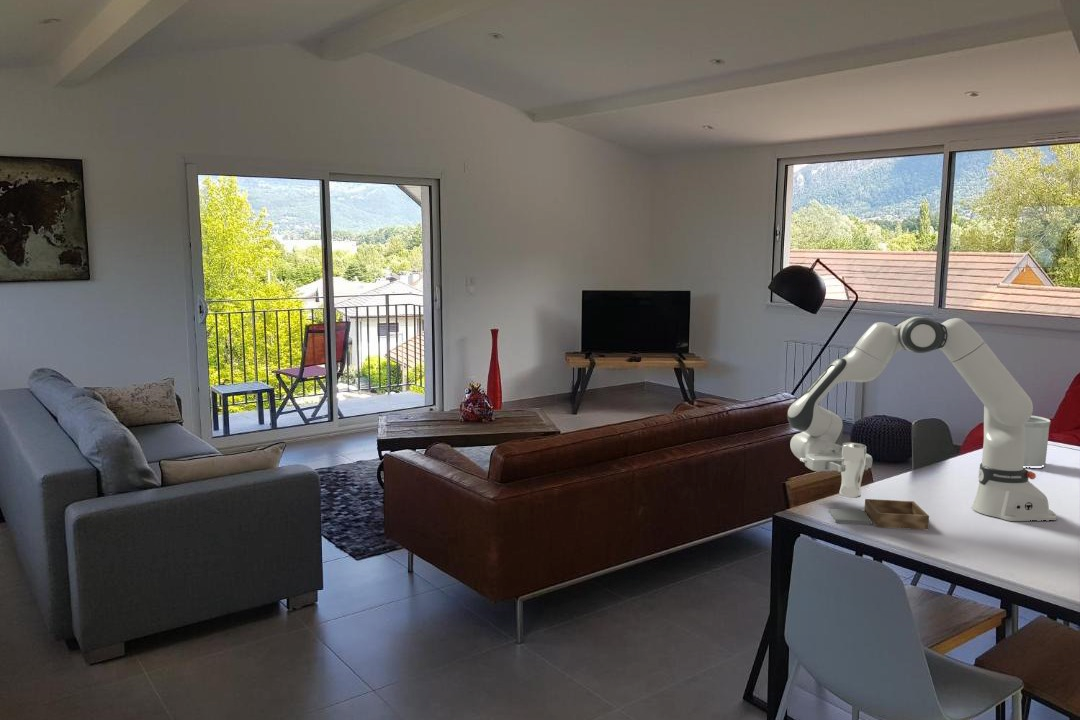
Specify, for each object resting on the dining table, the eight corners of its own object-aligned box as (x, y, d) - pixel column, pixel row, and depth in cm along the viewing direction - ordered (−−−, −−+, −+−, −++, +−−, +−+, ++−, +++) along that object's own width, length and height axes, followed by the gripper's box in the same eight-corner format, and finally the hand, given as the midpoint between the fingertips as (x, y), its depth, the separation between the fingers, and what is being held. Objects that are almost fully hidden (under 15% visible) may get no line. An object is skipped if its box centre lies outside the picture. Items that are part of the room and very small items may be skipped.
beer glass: (864, 499, 243) (869, 448, 240) (839, 497, 244) (843, 446, 242) (860, 492, 249) (864, 443, 247) (835, 490, 251) (840, 441, 249)
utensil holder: (1013, 469, 305) (1017, 422, 303) (993, 458, 320) (997, 413, 318) (1054, 470, 305) (1059, 422, 302) (1032, 459, 319) (1036, 414, 317)
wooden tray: (912, 514, 252) (913, 501, 251) (928, 529, 238) (929, 516, 238) (864, 511, 254) (865, 498, 253) (876, 527, 240) (877, 513, 239)
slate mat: (862, 513, 252) (862, 510, 252) (871, 524, 242) (871, 521, 242) (828, 511, 253) (828, 508, 253) (835, 522, 243) (835, 519, 243)
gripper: (797, 448, 255) (823, 459, 241) (855, 445, 260) (884, 456, 247) (796, 468, 256) (822, 480, 242) (854, 464, 261) (883, 477, 248)
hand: (854, 468), depth 245 cm, fingers closed on beer glass, 6 cm apart
